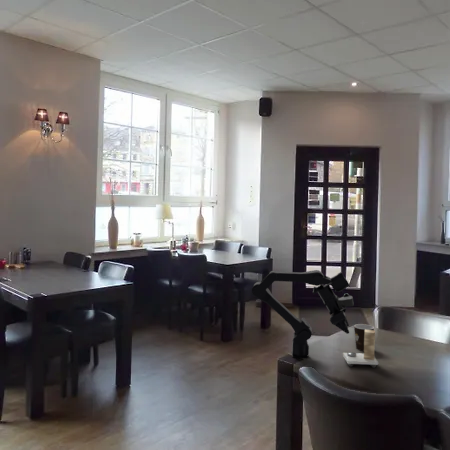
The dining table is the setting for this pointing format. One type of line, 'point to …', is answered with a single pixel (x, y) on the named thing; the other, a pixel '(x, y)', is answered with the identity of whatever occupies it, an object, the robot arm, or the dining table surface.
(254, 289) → the robot arm
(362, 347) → the coffee mug
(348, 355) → the silver metal dome
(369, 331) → the beech post
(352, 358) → the white square board
